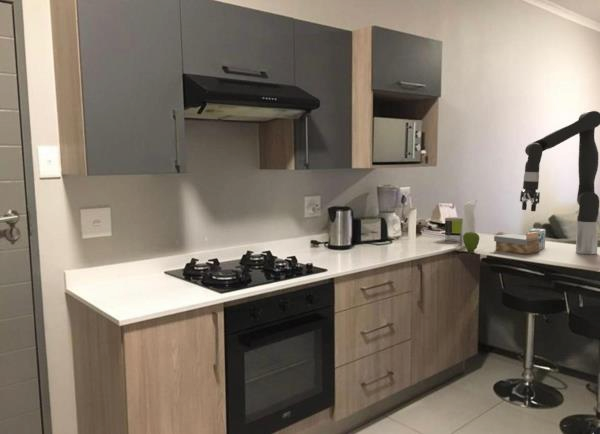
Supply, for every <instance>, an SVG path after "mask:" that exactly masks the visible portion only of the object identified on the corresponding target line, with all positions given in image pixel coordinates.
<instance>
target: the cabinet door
mask: <svg viewBox="0 0 600 434" xmlns="http://www.w3.org/2000/svg"><path fill="white" fill-rule="evenodd" d="M538 235H539V232H532V233H529V232H528V233H527V232H526V235H524V234H516V233H505V234H498V235H494V236H493V239H494V241H493V242H495V243H496V242H504V243H511V244H519V245H527V241H533V240H540V242H539V243H541V239H542V237H538Z"/></svg>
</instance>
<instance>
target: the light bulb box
mask: <svg viewBox="0 0 600 434" xmlns="http://www.w3.org/2000/svg"><path fill="white" fill-rule="evenodd" d="M546 230H547V229H545V228H532V229H529V231H528V233H532V232H539V235H538V237H542V239H541V243H539V251H540V250H543V249H545V247H546V233H547V232H546Z"/></svg>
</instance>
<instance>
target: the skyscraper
mask: <svg viewBox="0 0 600 434" xmlns="http://www.w3.org/2000/svg"><path fill="white" fill-rule="evenodd" d="M472 201H473V199H470V200H468V201H467V202H463V203H462V207H463V208H462V209H463V216H462V217H463V222H462V225H461V232H460V241H459V246H460V247H461V248H466V247H465V244H464V241H463V236H462V234H463V235H464V234H465V233H466V232H474V233H476V232H475V231H476V218H475V208H476V204H477V201H478V200H477V199H474V201H475V203H472Z"/></svg>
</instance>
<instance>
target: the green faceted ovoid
mask: <svg viewBox="0 0 600 434" xmlns="http://www.w3.org/2000/svg"><path fill="white" fill-rule="evenodd" d="M479 241H480V236H479V234H478V233H477V232H475V233H474V232H466V233H465V234H464V235H463V243H464V244H465V247H464V248H465V249H466V251H467V252H470V253H473V252H474V251H475V250H476V249H477V248H478V245H479V243H480V242H479Z"/></svg>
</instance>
